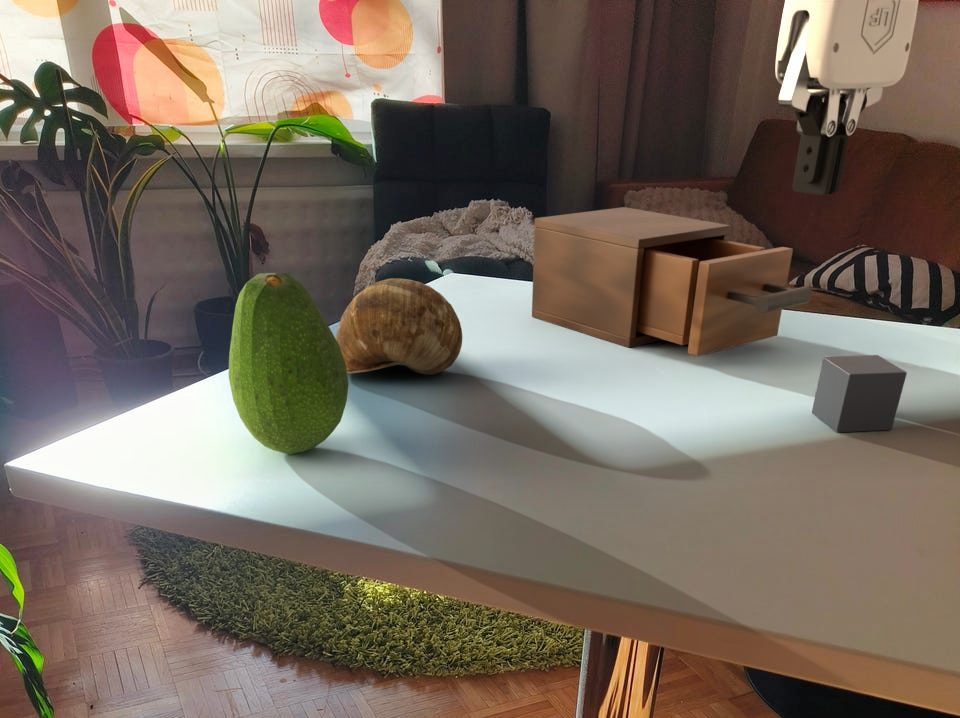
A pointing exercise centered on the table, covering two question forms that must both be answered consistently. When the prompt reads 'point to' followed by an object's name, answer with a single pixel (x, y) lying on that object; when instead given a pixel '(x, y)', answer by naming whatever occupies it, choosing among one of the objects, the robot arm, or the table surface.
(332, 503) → the table surface
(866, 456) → the table surface
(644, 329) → the drawer
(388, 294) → the seashell
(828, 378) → the block
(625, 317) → the cabinet
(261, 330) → the fruit
